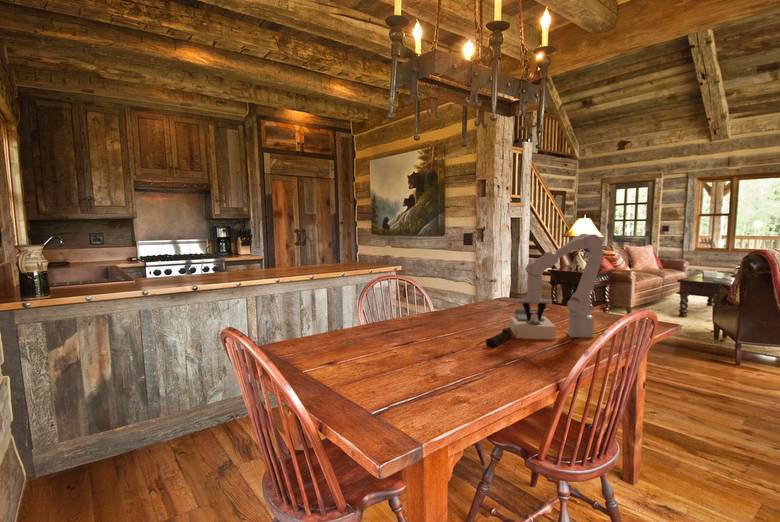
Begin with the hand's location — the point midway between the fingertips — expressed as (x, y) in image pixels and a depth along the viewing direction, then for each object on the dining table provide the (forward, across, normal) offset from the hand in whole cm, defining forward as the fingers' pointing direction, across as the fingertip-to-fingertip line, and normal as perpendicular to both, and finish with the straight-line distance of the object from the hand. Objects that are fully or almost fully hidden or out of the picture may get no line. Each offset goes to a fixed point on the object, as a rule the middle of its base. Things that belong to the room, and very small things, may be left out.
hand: (533, 320), depth 173 cm
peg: (+1, 0, 0) cm, 1 cm away
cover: (+1, 0, +9) cm, 9 cm away
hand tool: (+7, -16, -10) cm, 20 cm away
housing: (+7, 0, +4) cm, 8 cm away
